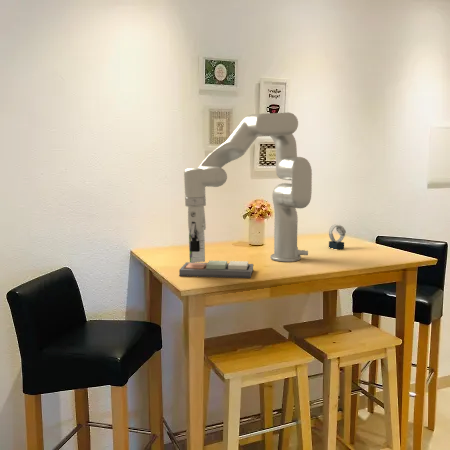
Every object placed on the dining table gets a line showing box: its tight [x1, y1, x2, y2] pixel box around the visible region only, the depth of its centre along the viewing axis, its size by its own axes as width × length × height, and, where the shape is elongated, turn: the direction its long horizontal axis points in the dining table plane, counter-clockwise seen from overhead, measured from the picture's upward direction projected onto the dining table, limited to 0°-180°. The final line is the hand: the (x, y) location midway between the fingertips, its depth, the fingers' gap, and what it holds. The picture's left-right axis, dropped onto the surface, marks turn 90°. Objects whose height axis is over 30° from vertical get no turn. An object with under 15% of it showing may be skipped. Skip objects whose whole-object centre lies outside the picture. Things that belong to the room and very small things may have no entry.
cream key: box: [228, 260, 249, 270], centre depth 184 cm, size 7×7×2 cm
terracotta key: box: [185, 262, 206, 269], centre depth 186 cm, size 7×7×2 cm
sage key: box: [206, 260, 228, 269], centre depth 185 cm, size 7×7×2 cm
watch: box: [328, 224, 347, 250], centre depth 228 cm, size 6×8×11 cm
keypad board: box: [178, 261, 254, 279], centre depth 185 cm, size 26×12×2 cm, turn 82°
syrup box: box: [188, 224, 206, 263], centre depth 185 cm, size 6×6×14 cm
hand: (197, 248), depth 185 cm, fingers closed on syrup box, 6 cm apart
